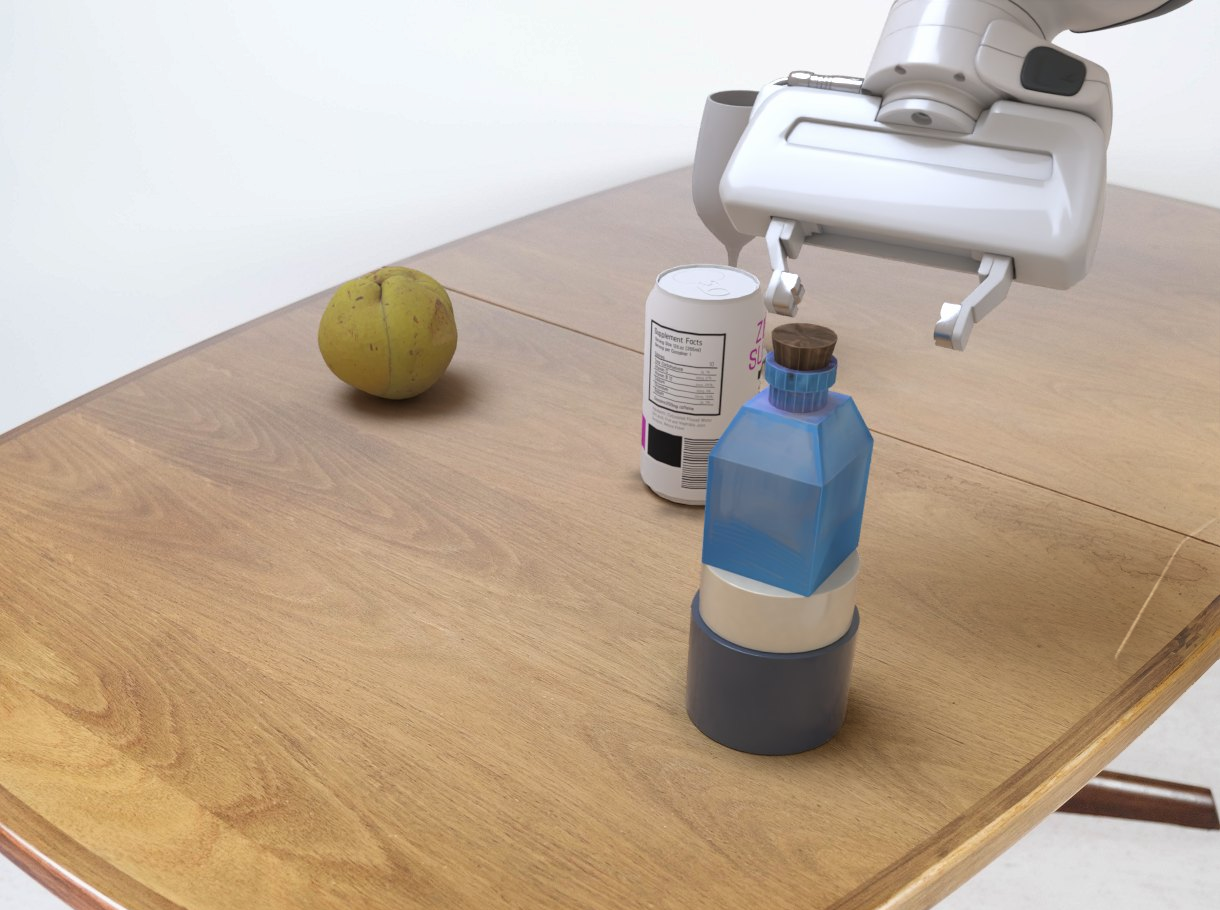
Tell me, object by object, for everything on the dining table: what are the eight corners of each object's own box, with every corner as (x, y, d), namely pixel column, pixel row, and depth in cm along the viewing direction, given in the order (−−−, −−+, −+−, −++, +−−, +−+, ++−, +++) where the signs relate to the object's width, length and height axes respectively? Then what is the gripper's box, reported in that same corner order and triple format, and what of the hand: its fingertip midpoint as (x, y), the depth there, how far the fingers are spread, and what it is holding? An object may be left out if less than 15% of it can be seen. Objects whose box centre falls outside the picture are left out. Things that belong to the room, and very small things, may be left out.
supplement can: (624, 467, 100) (628, 268, 91) (723, 451, 103) (738, 255, 94) (665, 517, 94) (674, 309, 85) (770, 498, 97) (790, 294, 87)
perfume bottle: (858, 546, 71) (890, 328, 64) (808, 597, 67) (837, 371, 60) (755, 514, 74) (775, 302, 67) (701, 562, 70) (716, 341, 63)
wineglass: (784, 363, 116) (809, 105, 104) (705, 375, 114) (721, 113, 101) (745, 332, 122) (765, 84, 109) (669, 343, 120) (681, 91, 107)
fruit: (493, 395, 110) (488, 275, 104) (375, 436, 104) (363, 310, 98) (413, 355, 117) (404, 240, 111) (298, 391, 110) (282, 270, 104)
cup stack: (852, 672, 79) (875, 524, 73) (836, 767, 72) (860, 612, 66) (701, 650, 81) (711, 503, 75) (670, 740, 74) (679, 586, 68)
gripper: (755, 30, 72) (668, 263, 71) (1142, 75, 65) (1050, 336, 64) (780, 102, 78) (699, 318, 77) (1138, 151, 70) (1053, 391, 70)
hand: (861, 327), depth 70 cm, fingers open, 8 cm apart
